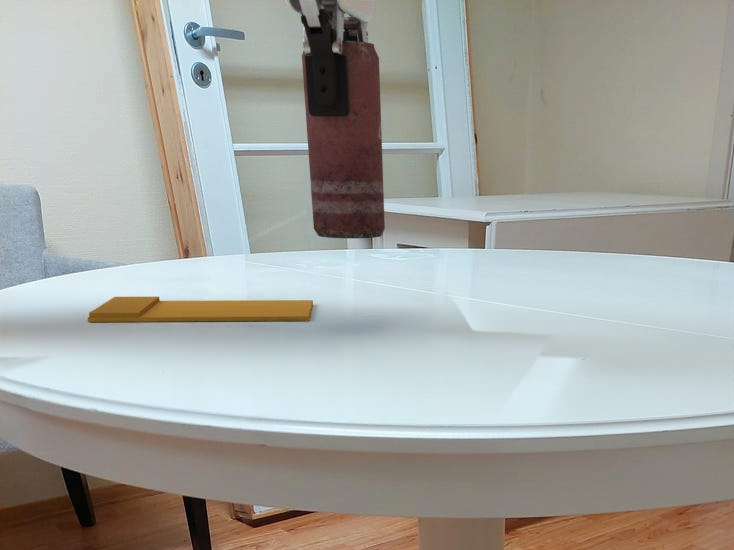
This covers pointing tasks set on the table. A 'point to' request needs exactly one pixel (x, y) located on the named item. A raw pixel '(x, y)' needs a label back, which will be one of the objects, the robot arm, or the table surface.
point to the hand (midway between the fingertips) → (341, 115)
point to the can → (349, 154)
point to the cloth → (199, 310)
